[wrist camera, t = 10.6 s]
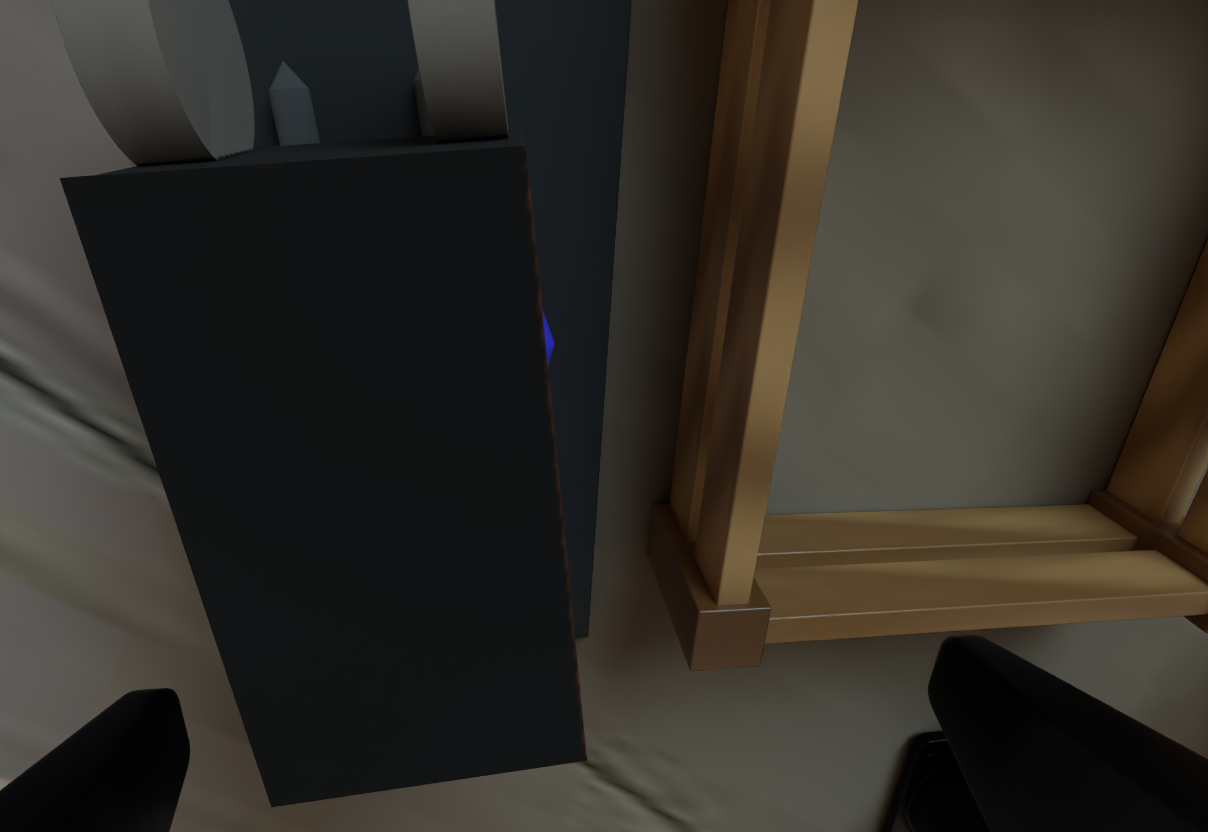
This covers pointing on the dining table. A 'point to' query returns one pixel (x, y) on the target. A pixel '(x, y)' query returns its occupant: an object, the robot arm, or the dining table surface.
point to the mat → (555, 162)
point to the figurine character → (341, 395)
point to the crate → (878, 538)
